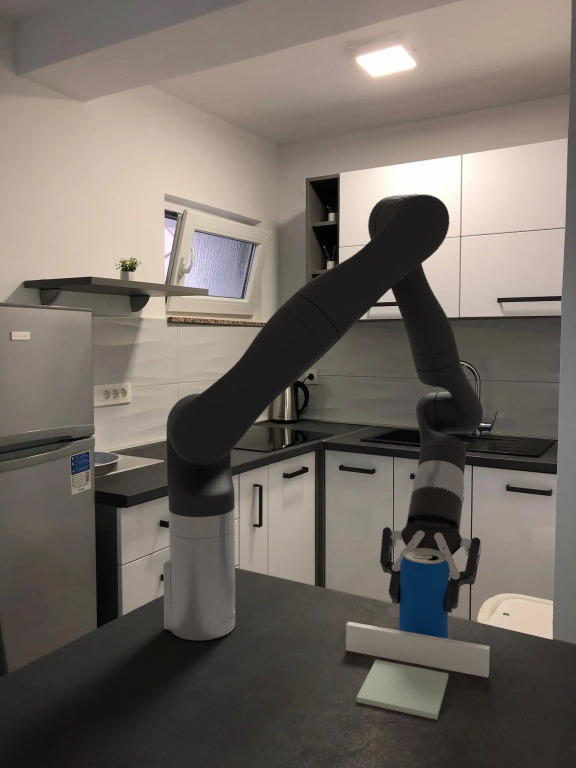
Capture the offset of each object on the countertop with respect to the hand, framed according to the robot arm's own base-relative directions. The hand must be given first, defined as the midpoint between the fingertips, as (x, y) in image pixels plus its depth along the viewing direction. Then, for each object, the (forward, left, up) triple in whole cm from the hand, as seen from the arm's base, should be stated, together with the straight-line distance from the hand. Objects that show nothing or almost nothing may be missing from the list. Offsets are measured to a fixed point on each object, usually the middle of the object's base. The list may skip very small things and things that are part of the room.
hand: (421, 605), depth 84 cm
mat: (0, -11, -6) cm, 13 cm away
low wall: (0, -4, -6) cm, 7 cm away
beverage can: (0, +2, -6) cm, 6 cm away
